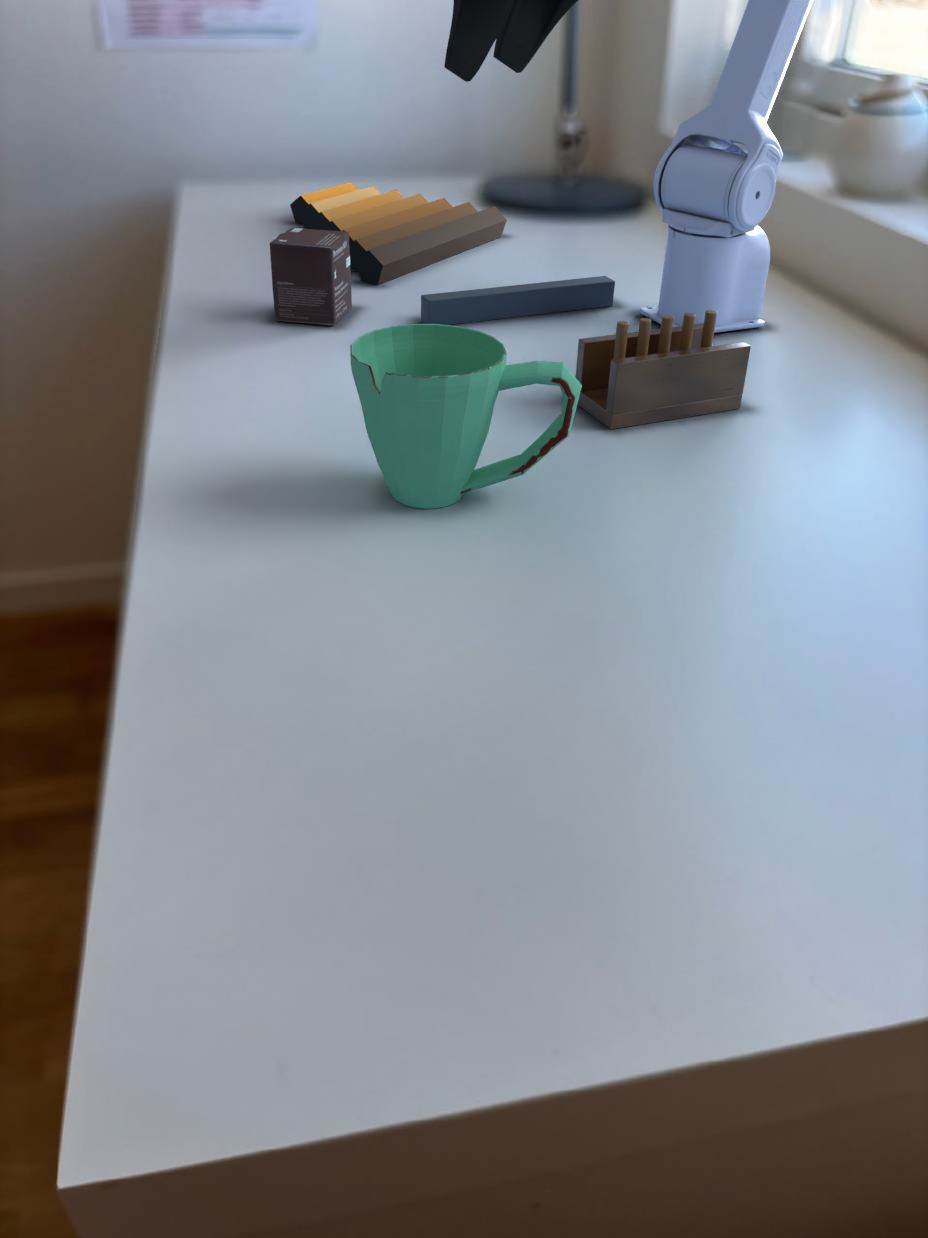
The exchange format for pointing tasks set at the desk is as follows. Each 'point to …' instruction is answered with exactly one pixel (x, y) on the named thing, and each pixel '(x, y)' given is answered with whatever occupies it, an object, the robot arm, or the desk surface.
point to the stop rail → (516, 300)
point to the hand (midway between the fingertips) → (481, 69)
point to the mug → (445, 408)
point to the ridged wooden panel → (396, 228)
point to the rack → (660, 372)
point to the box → (311, 276)
